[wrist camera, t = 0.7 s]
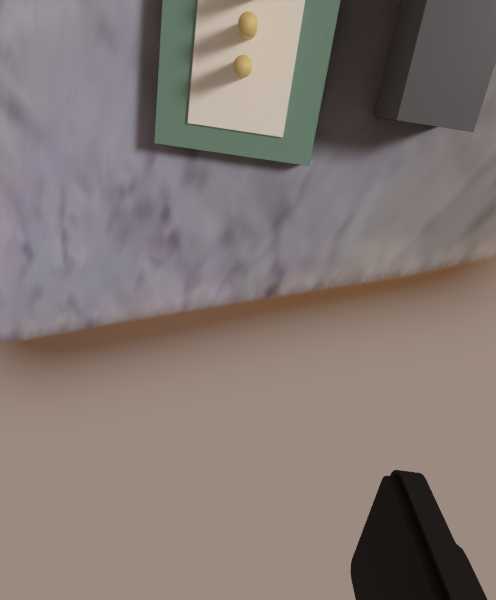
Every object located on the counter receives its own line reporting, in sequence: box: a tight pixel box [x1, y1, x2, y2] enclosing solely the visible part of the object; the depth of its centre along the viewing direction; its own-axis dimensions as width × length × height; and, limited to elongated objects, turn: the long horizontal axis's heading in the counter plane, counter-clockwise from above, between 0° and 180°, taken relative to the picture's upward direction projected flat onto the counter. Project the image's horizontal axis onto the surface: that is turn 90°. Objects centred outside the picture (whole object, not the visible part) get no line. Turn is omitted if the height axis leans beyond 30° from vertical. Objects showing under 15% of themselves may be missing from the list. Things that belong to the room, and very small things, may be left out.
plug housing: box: [374, 0, 496, 132], centre depth 26 cm, size 9×4×5 cm, turn 172°
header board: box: [154, 0, 341, 166], centre depth 26 cm, size 14×10×5 cm
